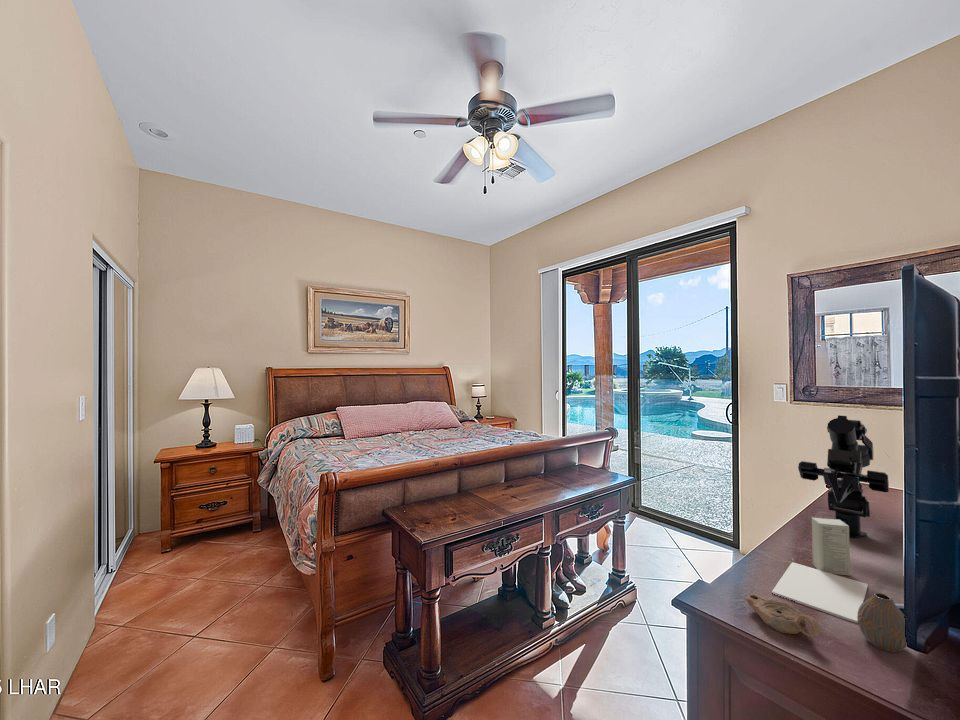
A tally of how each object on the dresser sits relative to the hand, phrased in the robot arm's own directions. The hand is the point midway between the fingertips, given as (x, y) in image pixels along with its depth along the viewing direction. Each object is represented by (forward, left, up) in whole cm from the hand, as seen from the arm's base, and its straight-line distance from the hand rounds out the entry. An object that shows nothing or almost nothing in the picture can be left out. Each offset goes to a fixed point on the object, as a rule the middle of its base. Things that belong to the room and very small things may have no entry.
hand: (838, 501), depth 110 cm
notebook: (+26, +10, -13) cm, 31 cm away
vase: (+36, +25, -14) cm, 46 cm away
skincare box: (+14, +5, -14) cm, 20 cm away
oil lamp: (+48, +15, -14) cm, 52 cm away
